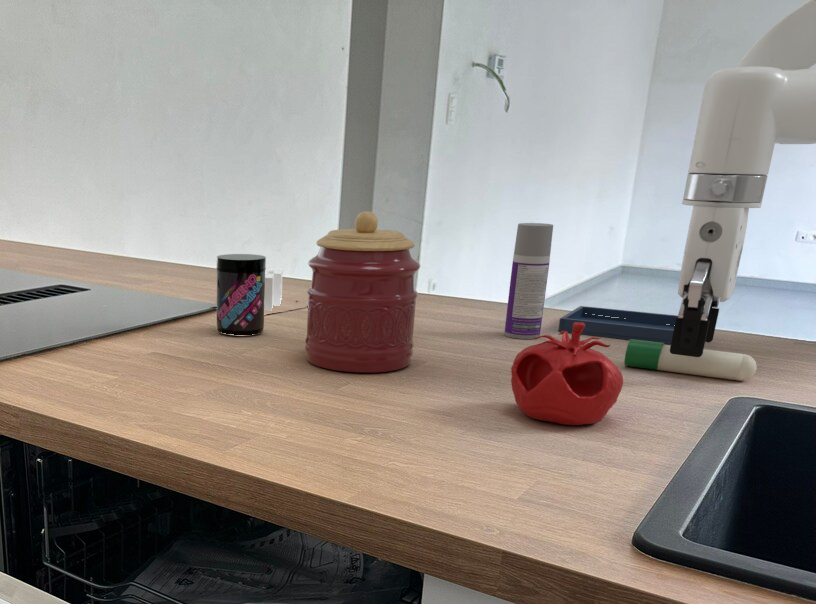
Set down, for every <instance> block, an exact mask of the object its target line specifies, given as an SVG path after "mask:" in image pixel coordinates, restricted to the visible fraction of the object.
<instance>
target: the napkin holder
mask: <svg viewBox="0 0 816 604" xmlns="http://www.w3.org/2000/svg"><path fill="white" fill-rule="evenodd" d="M283 271H284V269H283V267H268V269H267V271H266V273H265V302H264V310H268V311H272V308H273V305H274V306H280V304H281V300H282V299H283V298H282V297H283Z"/></svg>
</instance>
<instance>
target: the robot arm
mask: <svg viewBox="0 0 816 604" xmlns="http://www.w3.org/2000/svg"><path fill="white" fill-rule="evenodd" d="M815 65H816V0H805V1H804V2H803V3H802V4H800V5H799V6H797V7H796V8H795V9H793V10H792V11H790V12H789V13H788V14H786V15H785V16H783V17H782V18H781V19H779V20H778V21H776V23H774V24H773V25H772V26H770V27H769V28H768V29H767V30H766V31H764V33H763V34H761V35H760V36H759V37H758V39H757V40H756V41H754V43H753V44H752V45H751V46H750V47H749V48H748V49H747V51H746V52H745V53H744V55H743V57H741V59H740V60H739V62H737V64H736V65H735V66H734V67H726V68H721V69H718V70H716V71H714V72H713V73H711V74H710V75H709V76H708V78H707V79H706V82H705V84H704V88H703V92H702V99H701V103H700V108H699V113H698V120H697V123H696V124H697V125H696V129H695V135H694V141H693V146H692V150H691V156H690V160H689V167H688V170H687V176H686V181H685V186H684V191H683V196H682V200H681V201H682V202H681V205H684V206H691V207H692V211H691V214H690V215H691V216H690V220H689V225H688V230H687V234H686V235H687V236H686V240H685V246H684V252H683V257H682V262H681V268H680V273H679V282H678V289H677V294H678V296H679V297H680V298H682V300H681V303H680V307H679V310H678V313H677V314H678V315H677V316H678V317H676V321H675V326H674V331H673V336H672V341H671V346H670V353H671V354H676V355H684V356H691V357H701V356H702V354H703V350H704V349H705V344H706V343H711V342H712V341H713V340H714V335H715V331H716V326H717V323H718V318H719V313H720V308H718V307H719V304H720V303H724V302H726V301H728V300H729V299H730V298H731V297H732V295H733V294H734V292H735V288H736V282H737V277H738V272H739V269H740V268H739V267H740V262H741V258H742V253H743V248H744V244H745V238H746V233H747V228H748V220H749V213H750V212H749V210H750V209H761V208H762V202H763V198H764V194H765V190H766V184H767V182H768V181H767V180H768V175H769V172H770V167H771V162H772V158H773V154H774V149H775V144H779V145H814V144H816V67H814V66H815ZM811 67H812V68H811Z"/></svg>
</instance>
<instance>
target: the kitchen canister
mask: <svg viewBox="0 0 816 604" xmlns="http://www.w3.org/2000/svg"><path fill="white" fill-rule="evenodd" d="M378 221H379V220H378V217H377V215H376V214H375V213H373V212H372V211H367V210H365V211H361V212H360V213H358V215H357V216H356V218H355V220H354V228H343V229H342V228H341V229H340V228H339V229H332V230H329V231H328V232H327V234H325V235H324V236H323V237H321V238H319V239H318V240H317V241H316V242H315V244H316V246H318V247H320V248H319V249H318V253H317V254H316V255H315V256H313V257H312V258H310V259H309V260H308V262H307V264H308V266H309V268H310V269H311V271H312V275H311V283H310V286H309V287H308V288H307V291H306V292H307V295H308V297H307V299H308V301H307V303H308V308H307V321H306V323H307V324H306V337H305V338H304V339H305V340H304V343H305V345H304V350H305V352H306V361H308V362H309V364H312V365H314V366H316V367H318V368H319V367H320V368H323V369H326V370H327V369H328V370H332V371H338V372H345V373H346V372H347V373H362V374H364V373H367V374H368V373H370V374H371V373H385V372H393V371H394V372H395V371H398V370H401V369H405V368H407V367H408V366H409V365H410V364H411V359H412V356H413V354H414V346H415V344H414V327H415V316H416V304H417V298H418V295H419V294H418V291H417V290H416V289H415V288H416V287H415V280H416V279H415V275H416V272H418V271H419V269H420V268H421V264H420V262H419V261H418V260H416V259H415V258H414V257H413V256H412V253H411V249H413V248H414V247H415V242H414V241H412V240H411V239H409V238H408V237H406V236H405V234H404V233H403V232H402V231H398V230H390V229H378V224H379V222H378Z"/></svg>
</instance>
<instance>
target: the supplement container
mask: <svg viewBox="0 0 816 604" xmlns="http://www.w3.org/2000/svg"><path fill="white" fill-rule="evenodd" d="M266 264H267V257H266V256H265V255H262V254H261V255H260V254H252V253H228V254H227V253H226V254H220V255H217V256H216V268H215V269H216V306H217V308H216V330H217V332H218V333H219V332H222V333H226V334H234V335H252V334H258V333H260V334H262V332H263V331H264V329H265V316H264V302H265V274H266V269H267V266H266ZM258 335H259V334H258Z"/></svg>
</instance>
